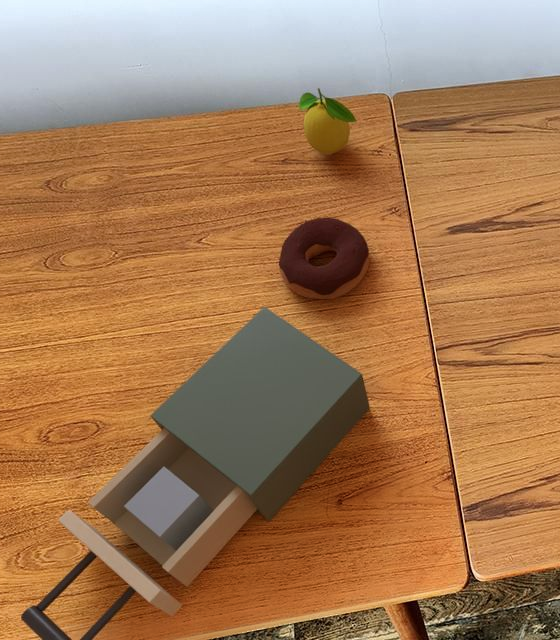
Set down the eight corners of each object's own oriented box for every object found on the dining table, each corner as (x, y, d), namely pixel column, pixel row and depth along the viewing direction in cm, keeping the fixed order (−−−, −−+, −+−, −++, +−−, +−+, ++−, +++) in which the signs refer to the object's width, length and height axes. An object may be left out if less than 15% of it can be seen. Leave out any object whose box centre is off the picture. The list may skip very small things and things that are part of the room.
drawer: (105, 691, 63) (75, 683, 58) (18, 606, 66) (-18, 591, 61) (281, 495, 72) (268, 473, 67) (196, 428, 75) (178, 403, 70)
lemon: (362, 162, 95) (353, 100, 87) (317, 174, 94) (303, 113, 86) (346, 126, 99) (336, 63, 90) (302, 138, 97) (288, 75, 89)
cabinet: (269, 522, 71) (250, 495, 65) (176, 447, 75) (149, 415, 68) (370, 408, 78) (362, 373, 71) (279, 344, 81) (264, 306, 75)
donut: (299, 317, 83) (293, 297, 80) (269, 252, 88) (262, 231, 84) (384, 283, 86) (381, 262, 82) (351, 222, 90) (347, 200, 87)
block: (176, 551, 68) (159, 537, 64) (141, 522, 69) (123, 506, 65) (213, 511, 70) (199, 495, 66) (179, 483, 71) (163, 466, 67)
